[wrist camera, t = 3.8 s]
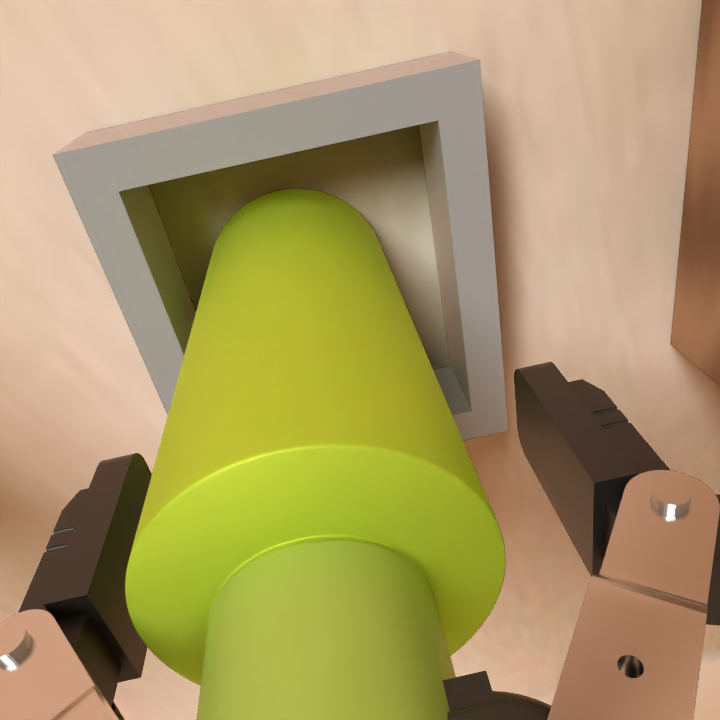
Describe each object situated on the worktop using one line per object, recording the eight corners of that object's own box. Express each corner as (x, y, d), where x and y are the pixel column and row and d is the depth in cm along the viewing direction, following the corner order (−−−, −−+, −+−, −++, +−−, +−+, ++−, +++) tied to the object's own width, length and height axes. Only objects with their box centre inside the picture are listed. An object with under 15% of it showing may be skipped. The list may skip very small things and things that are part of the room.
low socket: (85, 132, 18) (52, 154, 15) (450, 51, 18) (479, 60, 15) (212, 445, 24) (204, 498, 21) (483, 384, 24) (508, 430, 21)
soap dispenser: (390, 363, 23) (727, 1443, 6) (203, 338, 21) (-104, 1676, 4) (432, 212, 20) (1339, 1433, 3) (219, 172, 19) (-466, 2091, 1)
